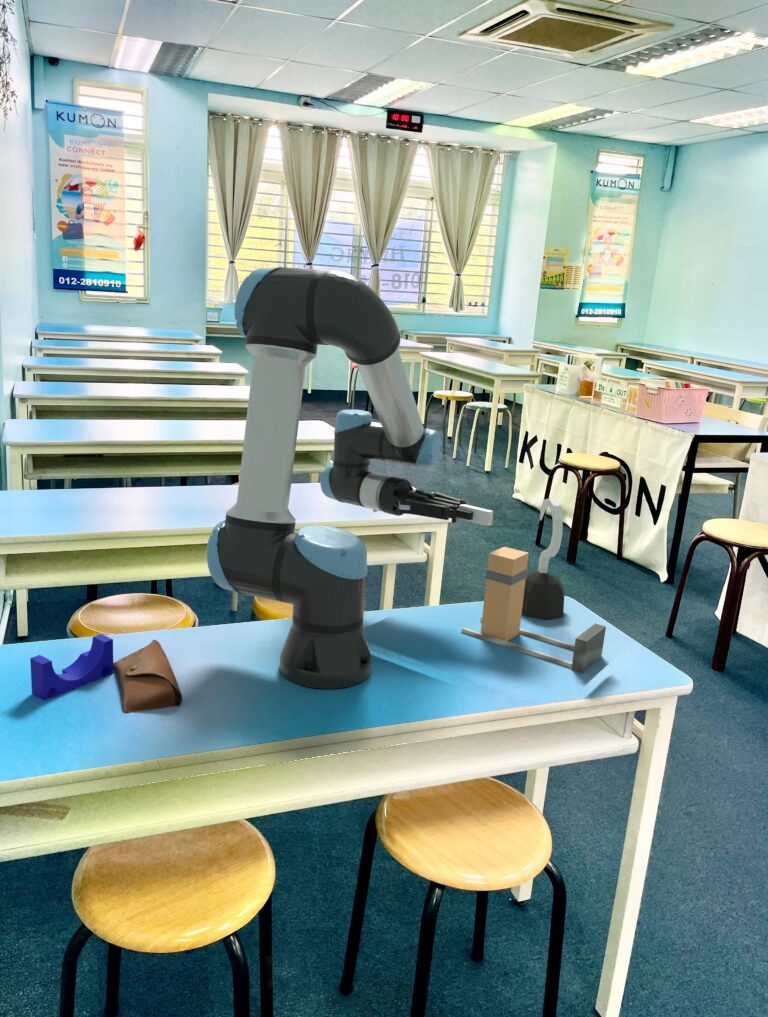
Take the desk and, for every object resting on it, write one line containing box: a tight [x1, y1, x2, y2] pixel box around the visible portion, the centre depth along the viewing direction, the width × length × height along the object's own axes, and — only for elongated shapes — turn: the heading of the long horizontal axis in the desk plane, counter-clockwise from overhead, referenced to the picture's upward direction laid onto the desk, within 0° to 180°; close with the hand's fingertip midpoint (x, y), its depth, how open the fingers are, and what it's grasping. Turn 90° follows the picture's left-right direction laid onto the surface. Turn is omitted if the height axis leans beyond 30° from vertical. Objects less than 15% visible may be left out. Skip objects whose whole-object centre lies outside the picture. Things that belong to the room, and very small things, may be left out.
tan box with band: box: [480, 546, 530, 642], centre depth 143 cm, size 5×6×16 cm
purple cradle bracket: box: [29, 633, 114, 702], centre depth 119 cm, size 12×4×6 cm, turn 145°
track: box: [460, 616, 607, 674], centre depth 141 cm, size 24×9×7 cm, turn 54°
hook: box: [521, 498, 565, 621], centre depth 156 cm, size 11×11×25 cm
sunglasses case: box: [113, 639, 183, 714], centre depth 120 cm, size 18×7×7 cm
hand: (490, 518), depth 144 cm, fingers closed
